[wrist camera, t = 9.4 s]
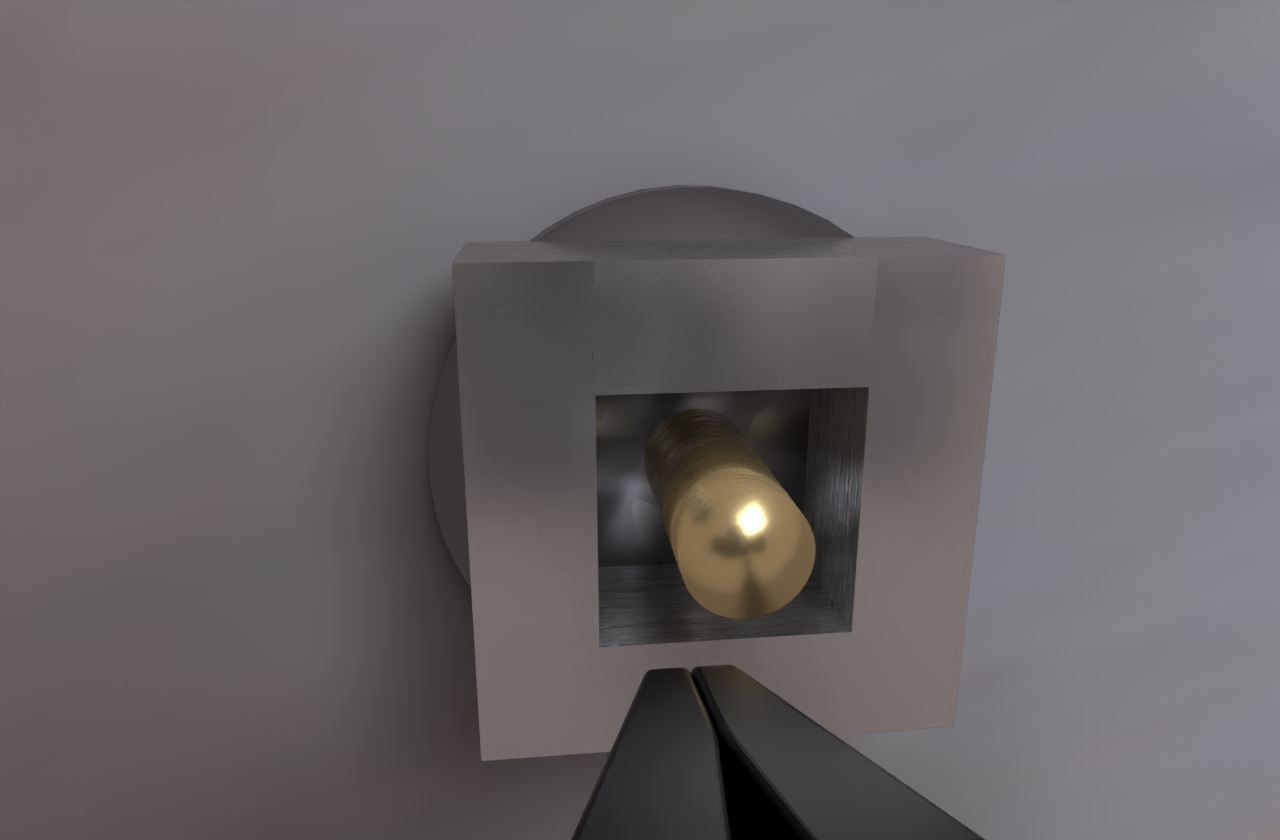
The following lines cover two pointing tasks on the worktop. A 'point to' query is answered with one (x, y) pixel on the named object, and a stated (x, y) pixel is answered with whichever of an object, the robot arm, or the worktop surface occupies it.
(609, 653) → the square frame block
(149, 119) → the worktop surface
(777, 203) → the hub
